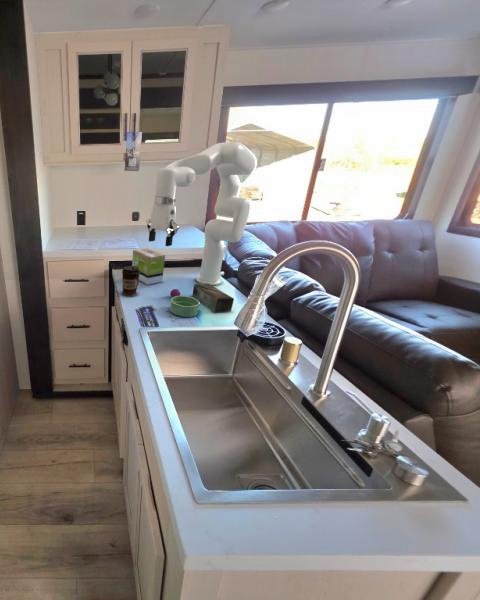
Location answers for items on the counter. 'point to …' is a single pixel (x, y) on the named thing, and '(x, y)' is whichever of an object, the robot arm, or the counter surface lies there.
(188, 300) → the bowl
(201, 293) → the brown wooden block
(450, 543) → the counter surface
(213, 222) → the robot arm
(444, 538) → the counter surface
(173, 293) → the ball
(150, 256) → the tea box
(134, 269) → the coffee cup
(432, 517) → the counter surface
